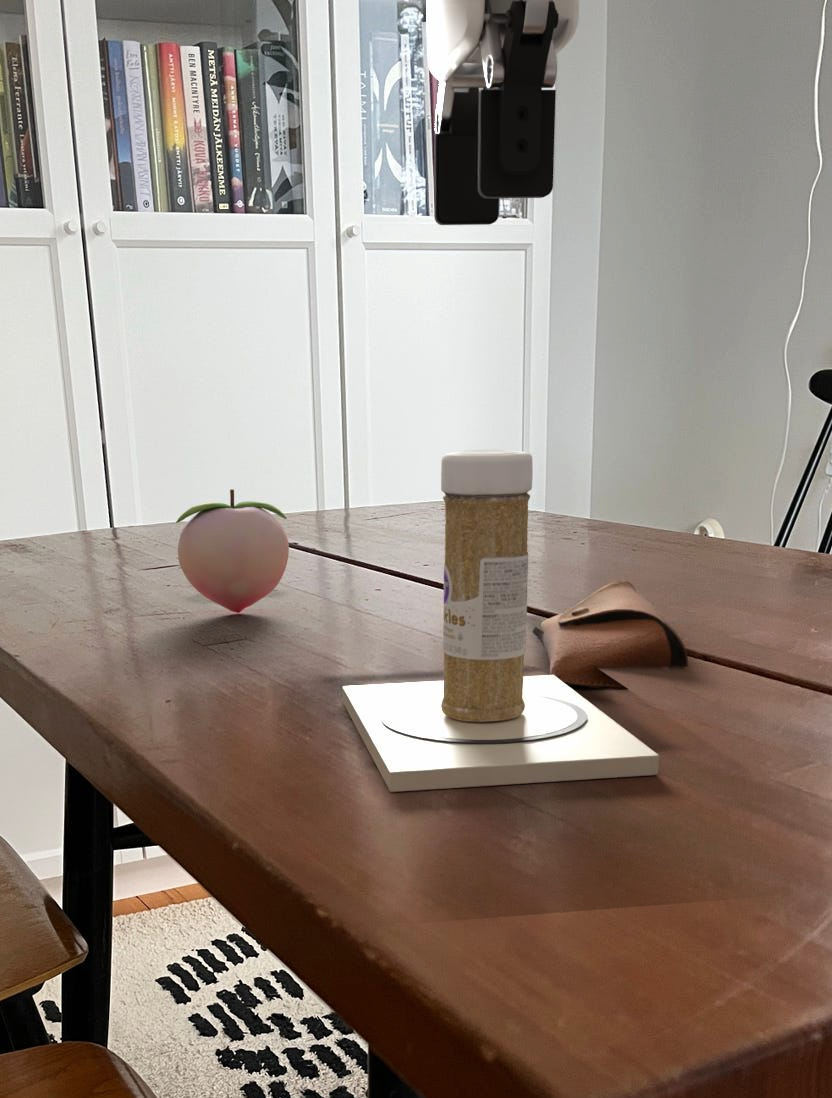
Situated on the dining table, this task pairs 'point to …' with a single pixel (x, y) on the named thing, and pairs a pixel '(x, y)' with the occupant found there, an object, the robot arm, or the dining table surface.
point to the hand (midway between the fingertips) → (488, 211)
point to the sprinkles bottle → (485, 582)
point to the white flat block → (491, 738)
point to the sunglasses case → (609, 637)
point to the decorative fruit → (233, 551)
